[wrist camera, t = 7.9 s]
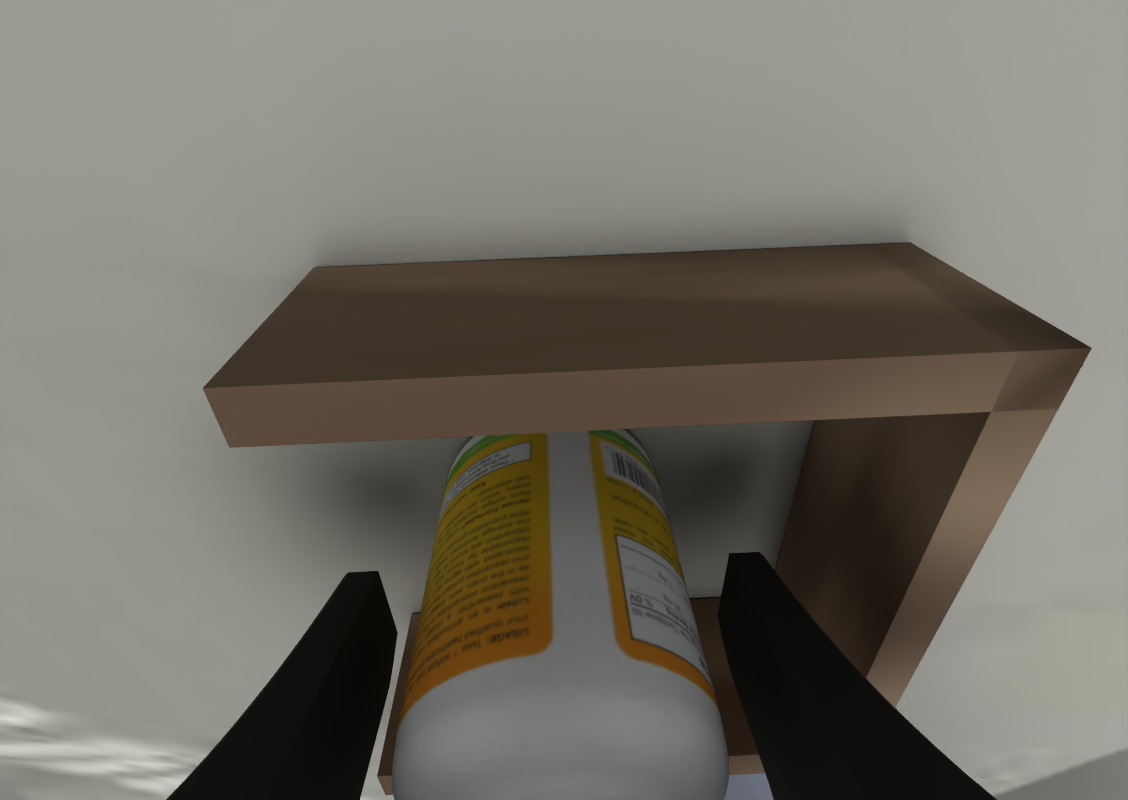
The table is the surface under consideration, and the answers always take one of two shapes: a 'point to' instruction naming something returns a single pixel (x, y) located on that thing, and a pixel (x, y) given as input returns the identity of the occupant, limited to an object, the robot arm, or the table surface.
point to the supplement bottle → (557, 635)
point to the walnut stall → (700, 403)
